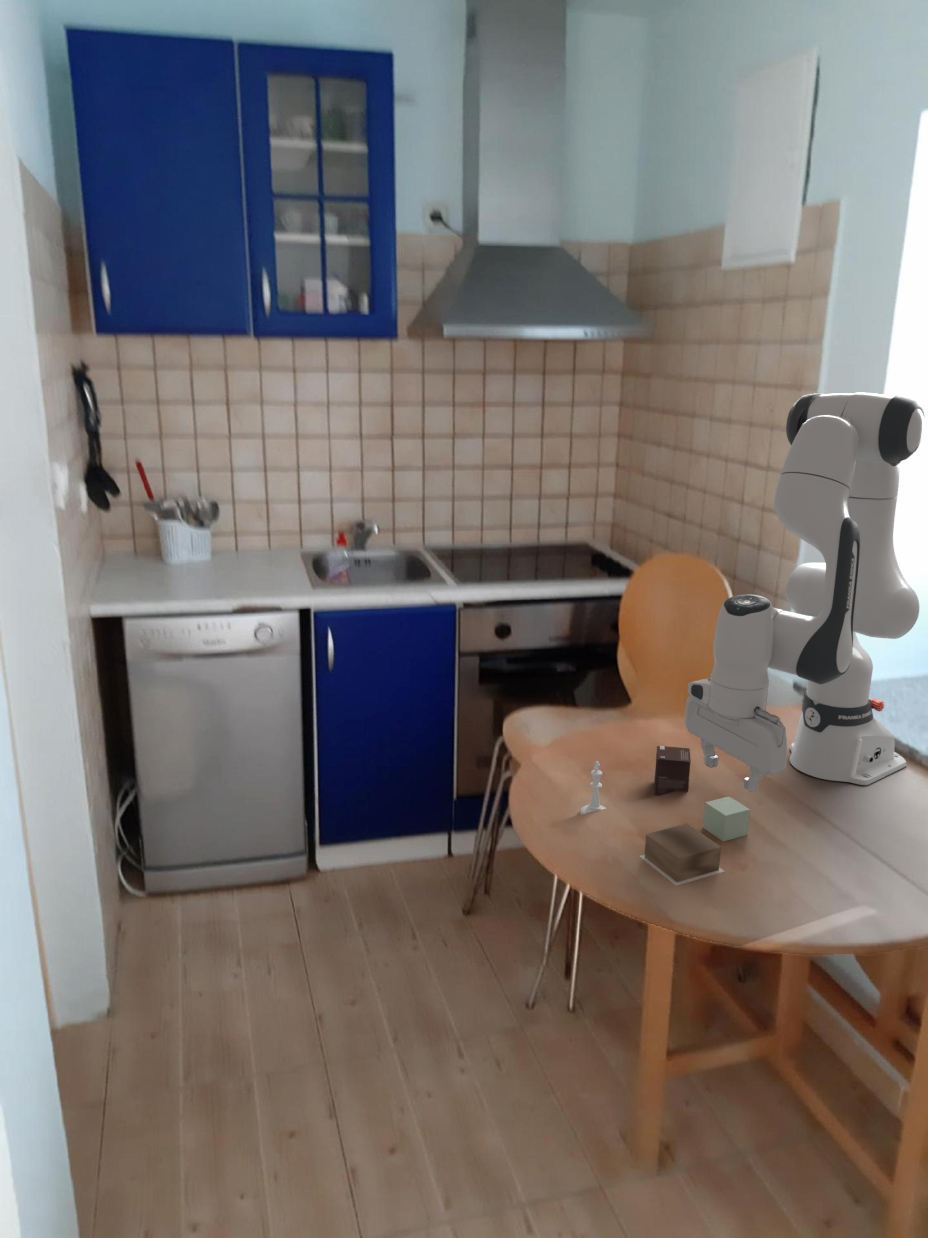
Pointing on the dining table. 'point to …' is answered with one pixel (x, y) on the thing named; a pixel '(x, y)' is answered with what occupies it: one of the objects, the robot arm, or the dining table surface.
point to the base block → (682, 852)
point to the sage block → (726, 818)
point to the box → (672, 770)
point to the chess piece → (594, 792)
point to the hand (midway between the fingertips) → (730, 777)
